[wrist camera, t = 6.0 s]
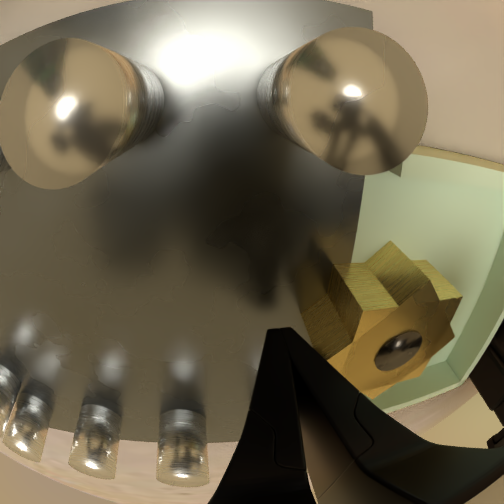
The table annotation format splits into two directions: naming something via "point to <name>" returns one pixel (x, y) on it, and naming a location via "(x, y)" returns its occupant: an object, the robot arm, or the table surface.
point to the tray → (442, 252)
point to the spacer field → (179, 210)
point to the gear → (382, 319)
